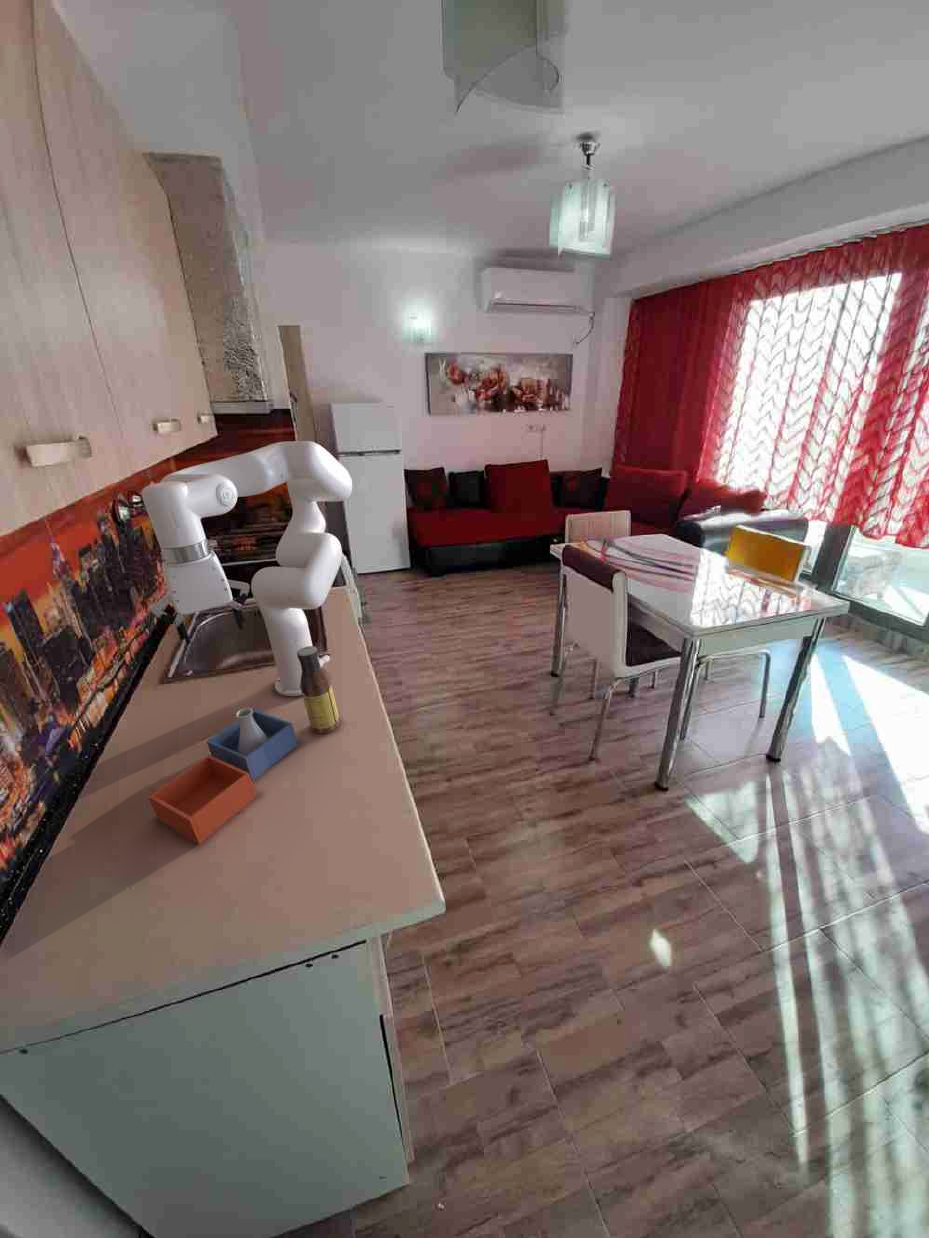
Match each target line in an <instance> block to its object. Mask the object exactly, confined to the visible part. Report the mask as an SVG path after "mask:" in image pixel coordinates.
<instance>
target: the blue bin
mask: <svg viewBox="0 0 929 1238" xmlns="http://www.w3.org/2000/svg"><path fill="white" fill-rule="evenodd" d="M252 711H253V713H252V716H253V719H254V721H255V722H256V724H257V725H258V726H259V727H260V729H261V730H262V731H263V732H264V733H265V734H266V735H267V736H268V737H269V739H268V740H267V741H265V742H264V743H263V744H261V745H260V746H259V747H257V748H256V749H255V750H253V751H252V752H251V753H249V754H248V755H247V756H245V755H242V754H240V753H238V745H239V737H240V722H239V719H237V721H235V722H233V723H232V724H231V725H229V726H228V727H226V728H225V729H222V731H220V732H218V733H217V734H215V735H214V736H213V737H211V738H210V739H209V740H207V741H206V745H207V747H208V750H209V752H210V756H212V757H215V758H217V759H219V760H221V761H223V762H226V763H228V764H230V765H232V766H234V767H236V768H239V769H241V770H243V771H245V772H247V773H249V774H250V777H251V780H252V782H254V780H256V779H257V778H258V777H259V776H261V775H262V774H264V773H265V772H266V771H268V769H269V768H271V767H272V766H273V765H275V764H276V763H277V762H278V761H279V760H281V759H282V758H283V757H284V756H286V755H287V754H288V753H289V752H290V751H292V750H293V749H294V748H296V747H297V746H298V744H299V743H298V741H297V737H296V733H295V729H294V725H293V723H292V722H290V721H287V720H285V719H281V718H278V717H275V716H273V715H271V714H267V713H265V712H262V711H260V710H257V709H252Z"/></svg>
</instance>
